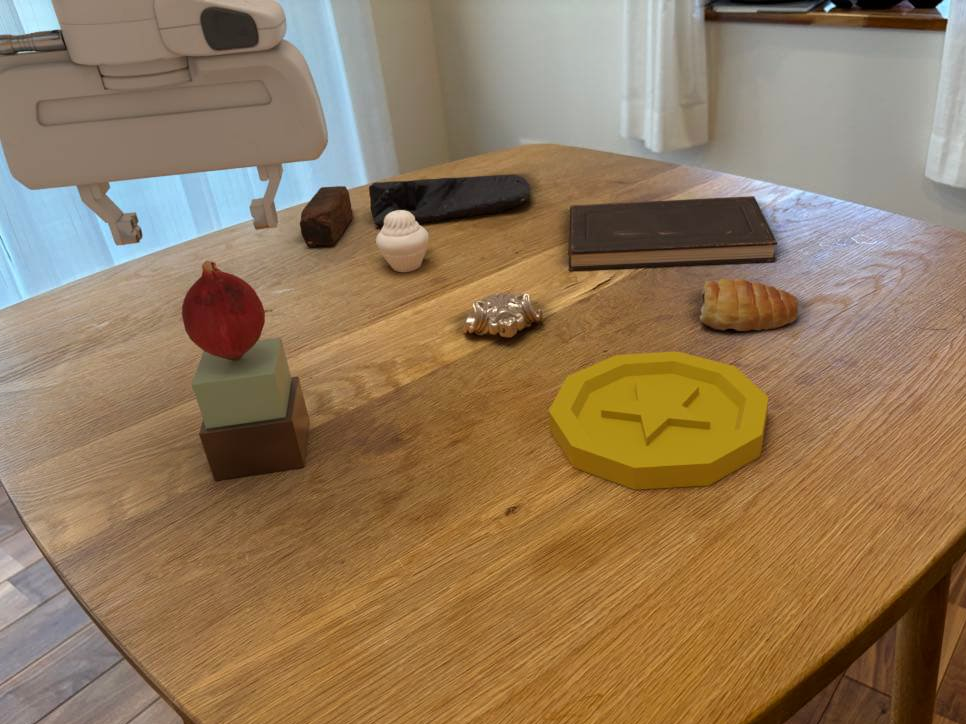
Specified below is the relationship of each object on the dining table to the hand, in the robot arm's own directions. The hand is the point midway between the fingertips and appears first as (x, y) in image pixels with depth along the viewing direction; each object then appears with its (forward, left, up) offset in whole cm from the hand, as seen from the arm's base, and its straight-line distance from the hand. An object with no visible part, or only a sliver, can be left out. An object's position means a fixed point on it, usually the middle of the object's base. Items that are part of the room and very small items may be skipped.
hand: (199, 234), depth 61 cm
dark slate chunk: (+20, +55, -19) cm, 62 cm away
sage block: (0, 0, -14) cm, 14 cm away
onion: (0, 0, -10) cm, 10 cm away
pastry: (+45, +11, -19) cm, 50 cm away
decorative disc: (+32, -5, -19) cm, 38 cm away
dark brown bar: (+4, +50, -19) cm, 53 cm away
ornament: (+22, +15, -19) cm, 33 cm away
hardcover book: (+44, +33, -19) cm, 58 cm away
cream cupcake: (+13, +35, -19) cm, 42 cm away
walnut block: (0, 0, -19) cm, 19 cm away
